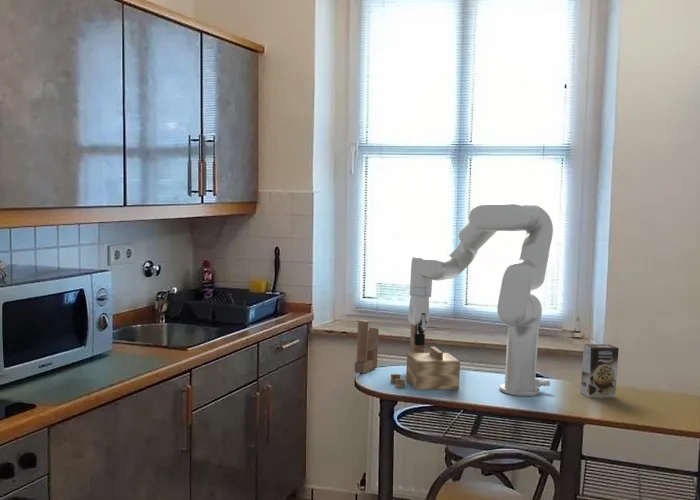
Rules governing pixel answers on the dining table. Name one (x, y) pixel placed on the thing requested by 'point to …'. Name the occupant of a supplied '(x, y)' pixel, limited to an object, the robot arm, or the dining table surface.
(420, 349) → the tall wooden pillar
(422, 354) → the lid
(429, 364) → the toolbox
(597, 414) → the dining table surface
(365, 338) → the wooden block
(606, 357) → the coffee box
